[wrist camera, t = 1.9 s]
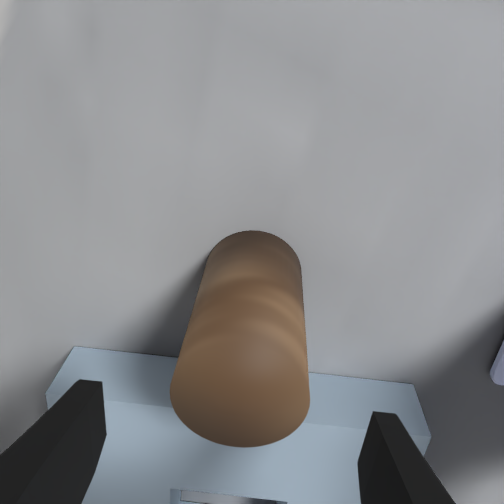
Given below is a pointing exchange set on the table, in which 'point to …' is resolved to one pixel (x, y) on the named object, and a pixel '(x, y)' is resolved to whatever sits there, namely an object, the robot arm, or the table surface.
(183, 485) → the socket block
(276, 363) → the walnut peg
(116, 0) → the table surface
